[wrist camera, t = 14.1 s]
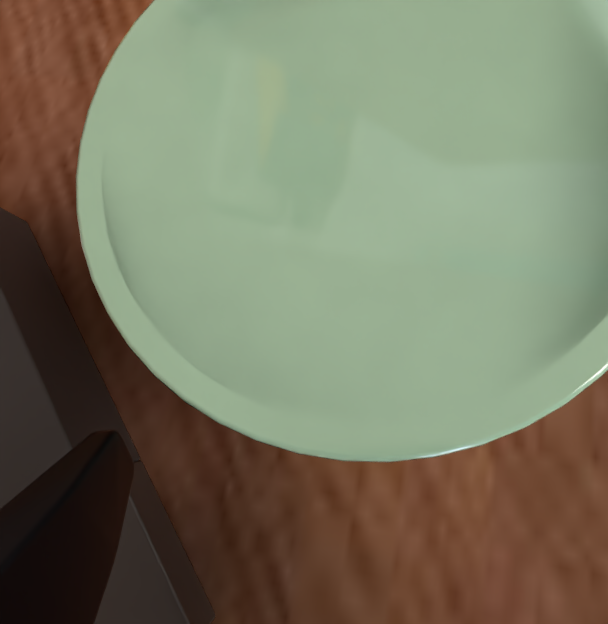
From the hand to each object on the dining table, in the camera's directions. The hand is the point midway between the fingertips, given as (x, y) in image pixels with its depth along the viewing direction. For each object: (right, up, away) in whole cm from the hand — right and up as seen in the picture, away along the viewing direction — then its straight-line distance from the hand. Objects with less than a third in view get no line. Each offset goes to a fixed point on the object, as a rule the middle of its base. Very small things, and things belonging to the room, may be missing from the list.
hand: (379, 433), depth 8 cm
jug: (+1, +3, +7) cm, 8 cm away
